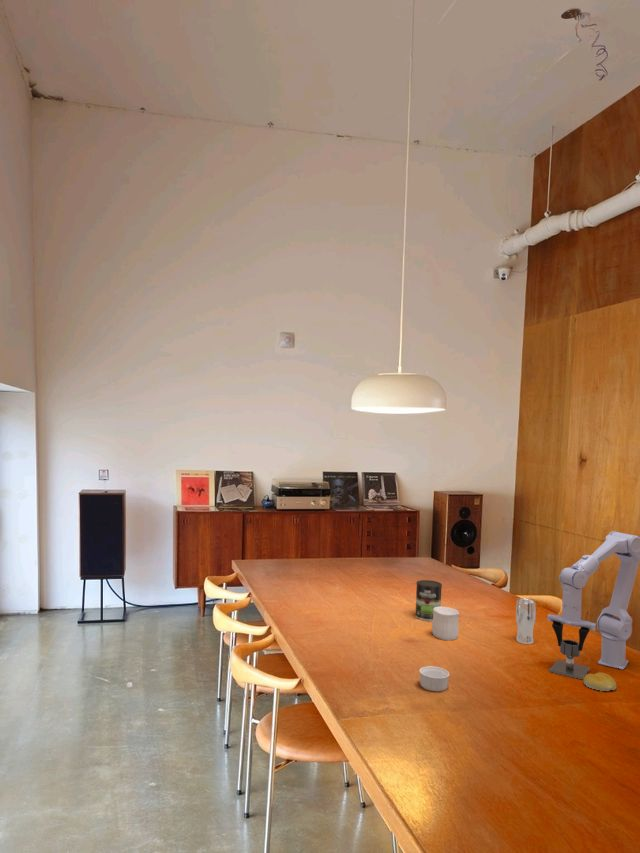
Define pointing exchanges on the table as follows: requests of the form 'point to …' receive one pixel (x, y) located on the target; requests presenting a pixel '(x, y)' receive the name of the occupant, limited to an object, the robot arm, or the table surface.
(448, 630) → the cup
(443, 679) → the ramekin
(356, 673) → the table surface
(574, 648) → the ring
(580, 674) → the square steel plate
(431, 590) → the coffee can
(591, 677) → the bread roll
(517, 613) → the beer glass
